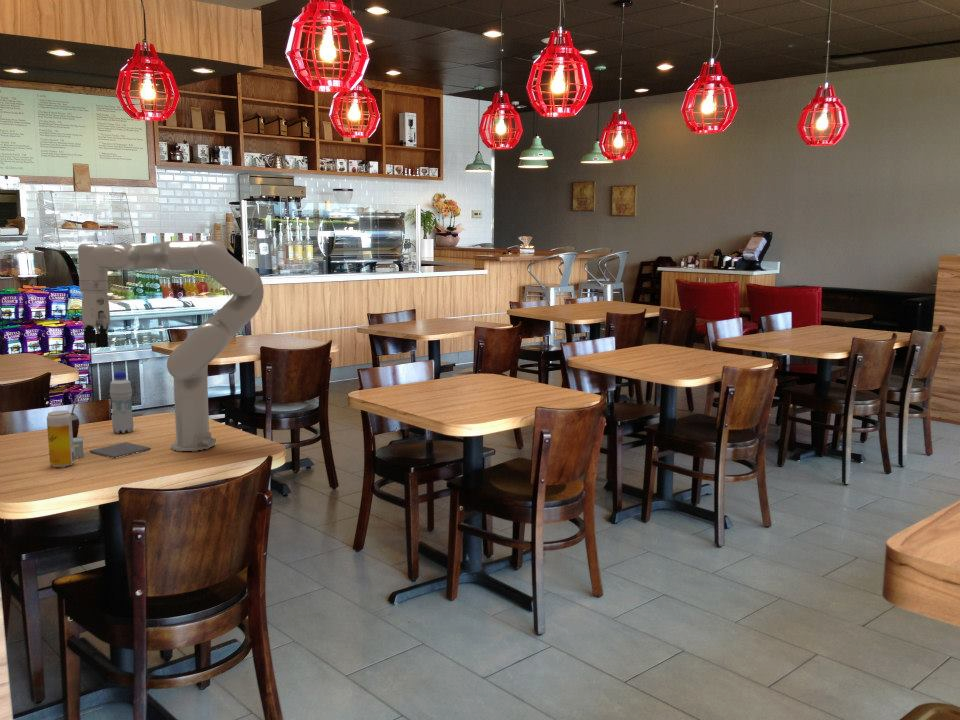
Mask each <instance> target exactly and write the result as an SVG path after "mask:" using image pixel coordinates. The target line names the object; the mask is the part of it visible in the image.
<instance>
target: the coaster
mask: <svg viewBox="0 0 960 720" xmlns="http://www.w3.org/2000/svg"><path fill="white" fill-rule="evenodd" d="M150 449H151V450H152V447H150V446H146V445H140V444H136V443H132V442H127V441H126V442H125V441H124V442H121V443H116V444H113V445H109V446H104V447H100V448H95V449H90V450H89V453H90V452H91V454H94V453H95V454H94V455H98V454H99V456H102V455H104V456H103V457H106V456H109V457H108V458H110V457H113V458H112V459H114V458H115V459H117V458H116V457H119V456H123V455H127V454H131V455H133V454H132V453H135V454H137V453H136V452H139V453H142V452H141V451H143V452H147V451H150ZM146 450H147V451H146ZM127 456H128V455H127ZM123 457H124V456H123ZM119 458H120V457H119Z"/></svg>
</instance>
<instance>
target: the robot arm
mask: <svg viewBox="0 0 960 720" xmlns="http://www.w3.org/2000/svg"><path fill="white" fill-rule="evenodd" d="M77 259H78V260H77V261H78V280H79V281H78V284H79V292H80V293H82V294H81V317H82V324H83V326H82V328H83V343H84V344H85V345H87V344H95V348H108V347H109V335H108V334H109V330H108V328H109V326H110V325H111V314H110V313H111V311H110V310H111V309H110V303H109V296H108V292H109V279H108V278H109V273H108V270H114V271H124V270H134V269H135V270H136V269H138V270H139V269H163V270H167V271H188V270H189V271H192V270H193V271H196V270H203V271H204V272H205V273H206V274H208V275H209V276H210V277H211V278H213V279H214V280H215V281H216V282H217V283H219V284H220V285H221V287H223V288H225V289H226V290H227V291H228V292H230V293H231V294H233V295H232V296H231V297H230V299H229V300H228V301H227V302H226V303H225V304H224V305H223V306H222V307H221V308H220V309H219V310H218V311H217V312H216V313H215V314H214V315H213V316H211V317H210V318H209V319H207V320H206V321H204V322H203V323H201V324H200V325H199V326H198V327H196V328H195V329H194V330H193V331H192V332H191V333H190V334H189V335H188V336H186V338H185V339H184V340H183V341H182V342H181V343H180V344H179V345H178V346H176V347H175V349H174V350H172V351H171V353H170V354H169V355H168V357H167V360H166V369H167V371H168V373H169V374H170V376H172V377H173V394H174V395H173V396H174V399H173V400H174V416H175V418H174V419H175V437H176V438H175V439H176V441H174V442H172V443H171V445H170V448H171V450H173V451H175V450H176V452H182V451H192V452H199V451H198V450H201V451H204V450H203V449H206V450H208V449H207V448H210V447H212V446H214V445H215V446H216V441H217V439H216V438H215V437H212V432H210V420H209V419H210V415H209V413H210V412H209V394H208V393H209V390H208V370H209V369H208V366H209V364H211V362H212V361H213V360H214V359H215V358H217V357H218V355H220V353H221V352H222V351H224V350H225V349H226V347H227V346H229V344H230V342H231V341H232V339H234V337H235V336H237V334H238V333H240V331H241V330H242V329H243V328H244V327H245V326H247V324H248V323H249V322H250V321H251V320H252V319H253V317H254V316H255V315H256V314H257V312H259V310H260V308H261V306H262V303H263V299H264V295H265V293H264V285H263V284H264V283H263V281H262V278H261V276H260V274H259V272H258V271H257V270H256V269H255V268H253V267H251V266H247V265H244V264H243V263H241V262H240V261H239V260H238V259H237V258H235V257H234V256H233V255H231V254H230V253H229V252H228V249H227V247H226V245H224V243H223V242H220V241H218V240H214V239H213V240H211V239H210V240H168V241H164V242H163V241H162V242H153V243H152V242H151V243H147V242H146V243H114V244H106V245H105V244H101V243H81V244H80V245H79V246H78V248H77ZM215 446H214V447H215ZM212 448H213V447H212ZM210 449H211V448H210Z"/></svg>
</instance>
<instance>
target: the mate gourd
mask: <svg viewBox="0 0 960 720" xmlns="http://www.w3.org/2000/svg"><path fill="white" fill-rule="evenodd" d="M83 392H85V391H84V390H81V392H79V393H78V394H77V395H76V396H75V398H74V400H73V406H72V409H71V412H70V414H71V418H72V432H73V438H78V436H79V435H78V434H79V429H80V419H79V417H78V415H77V414H76V413H74V411H75V408H76V404H77V401H78V398H79V397H80V395H82V394H83Z"/></svg>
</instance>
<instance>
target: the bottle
mask: <svg viewBox="0 0 960 720" xmlns="http://www.w3.org/2000/svg"><path fill="white" fill-rule="evenodd" d="M113 375H114V379H113V380H112V381H111V382H110V383H109V384H110V385H109V395H110V396H109V397H110V400H111V411H112V412H111V413H112V414H111V415H112V416H111V417H112V419H111V420H112V423H111V425H112V426H111V427H112V431H113V432H114V433H116V434H118V433H119V434H123V433H124V434H125V433H127V434H128V433H130V432H133V430H134V416H133V405H132V395H133V388H132V383H131V381H130V380H128V379H127V378H126V377H127V375H126V373H125V371H117V372H114V374H113ZM120 432H121V433H120Z"/></svg>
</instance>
